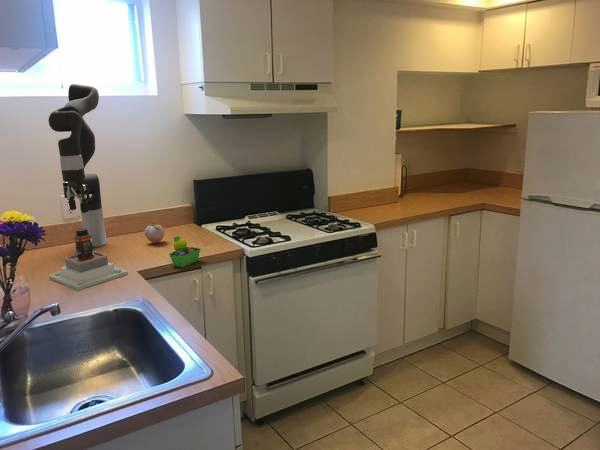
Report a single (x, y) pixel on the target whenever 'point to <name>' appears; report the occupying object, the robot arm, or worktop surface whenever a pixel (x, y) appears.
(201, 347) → the worktop surface
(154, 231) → the decorative fruit
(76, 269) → the stacked grey pedestal
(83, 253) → the supplement bottle
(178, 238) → the fruit basket
